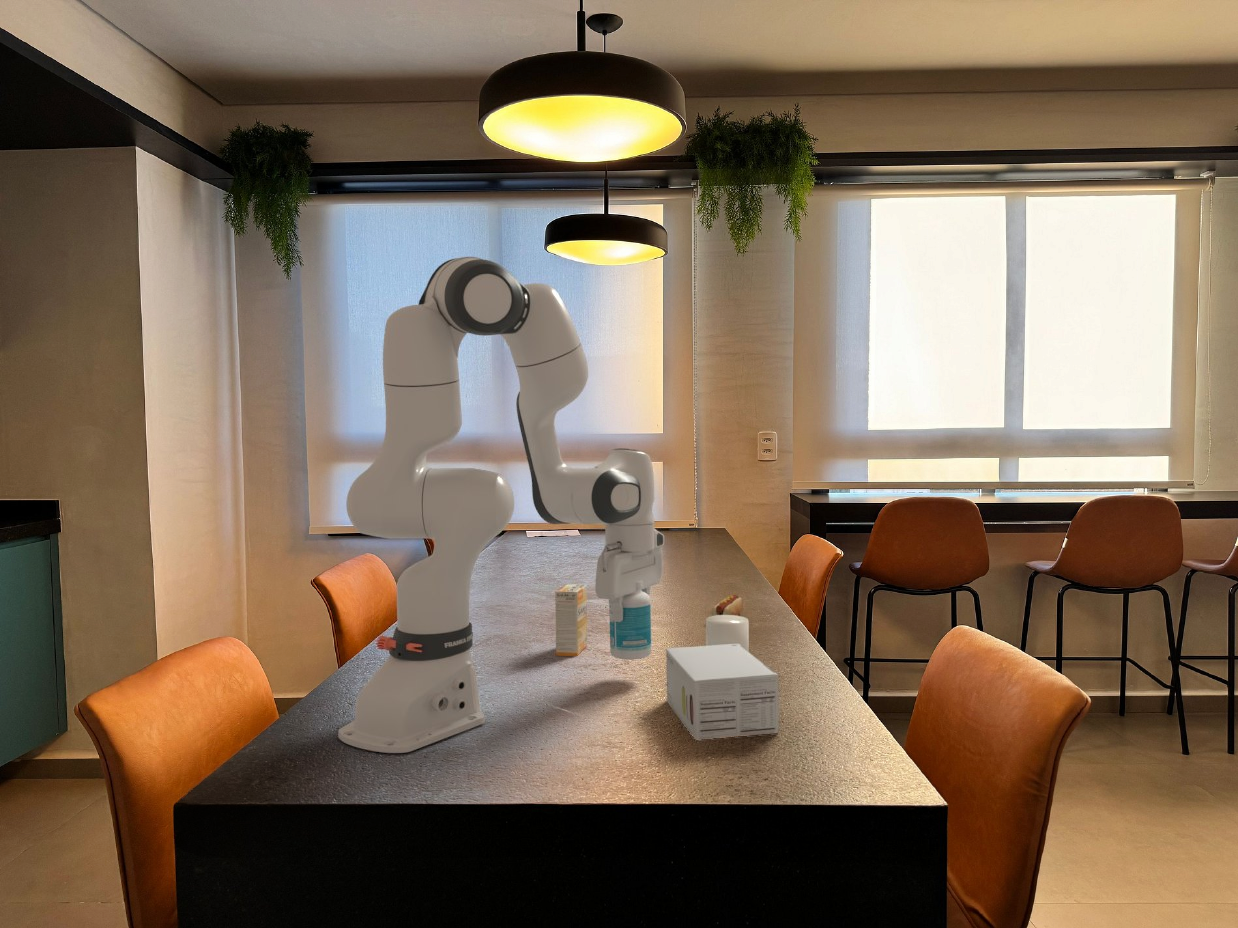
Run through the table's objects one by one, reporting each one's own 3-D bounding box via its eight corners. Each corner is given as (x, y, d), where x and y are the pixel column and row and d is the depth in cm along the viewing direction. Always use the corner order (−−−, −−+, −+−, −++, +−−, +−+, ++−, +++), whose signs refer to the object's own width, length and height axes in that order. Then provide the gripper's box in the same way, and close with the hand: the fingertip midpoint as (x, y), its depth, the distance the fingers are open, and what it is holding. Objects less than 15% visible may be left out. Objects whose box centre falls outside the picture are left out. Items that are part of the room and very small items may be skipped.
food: (731, 626, 180) (730, 605, 180) (707, 624, 182) (707, 603, 182) (746, 613, 193) (746, 593, 192) (724, 611, 195) (724, 591, 195)
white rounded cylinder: (740, 675, 144) (740, 627, 143) (699, 669, 148) (699, 622, 147) (754, 664, 151) (754, 617, 150) (715, 658, 155) (715, 613, 154)
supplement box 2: (664, 703, 131) (664, 647, 130) (740, 697, 133) (740, 642, 133) (694, 743, 114) (693, 679, 114) (779, 735, 116) (779, 672, 116)
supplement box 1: (578, 657, 156) (577, 591, 156) (555, 656, 157) (554, 591, 157) (588, 646, 164) (587, 583, 164) (566, 645, 165) (565, 583, 165)
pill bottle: (660, 654, 142) (659, 579, 141) (631, 663, 136) (630, 585, 136) (629, 647, 147) (628, 575, 147) (601, 655, 142) (600, 580, 141)
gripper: (619, 546, 131) (619, 629, 131) (668, 535, 149) (668, 608, 149) (586, 544, 133) (586, 625, 134) (638, 533, 152) (638, 605, 152)
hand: (630, 616), depth 141 cm, fingers closed on pill bottle, 7 cm apart
